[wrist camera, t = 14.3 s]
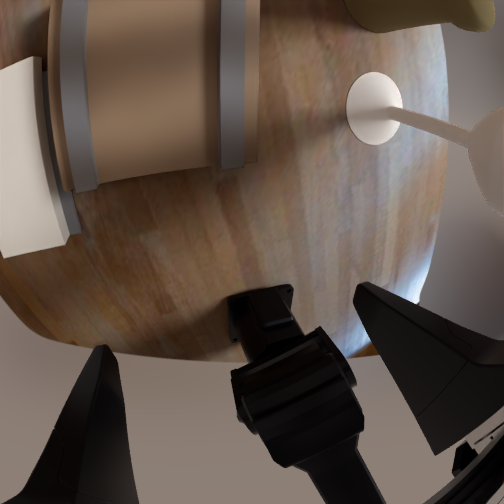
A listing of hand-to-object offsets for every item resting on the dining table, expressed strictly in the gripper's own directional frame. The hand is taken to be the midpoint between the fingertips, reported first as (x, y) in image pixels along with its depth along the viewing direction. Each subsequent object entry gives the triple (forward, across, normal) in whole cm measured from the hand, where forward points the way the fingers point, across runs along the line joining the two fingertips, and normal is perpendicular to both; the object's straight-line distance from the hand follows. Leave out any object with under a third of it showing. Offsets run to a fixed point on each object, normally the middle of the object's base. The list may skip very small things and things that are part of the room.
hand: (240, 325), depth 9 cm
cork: (+13, -15, -16) cm, 25 cm away
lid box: (+13, +2, -9) cm, 16 cm away
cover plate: (+12, +12, -5) cm, 18 cm away
